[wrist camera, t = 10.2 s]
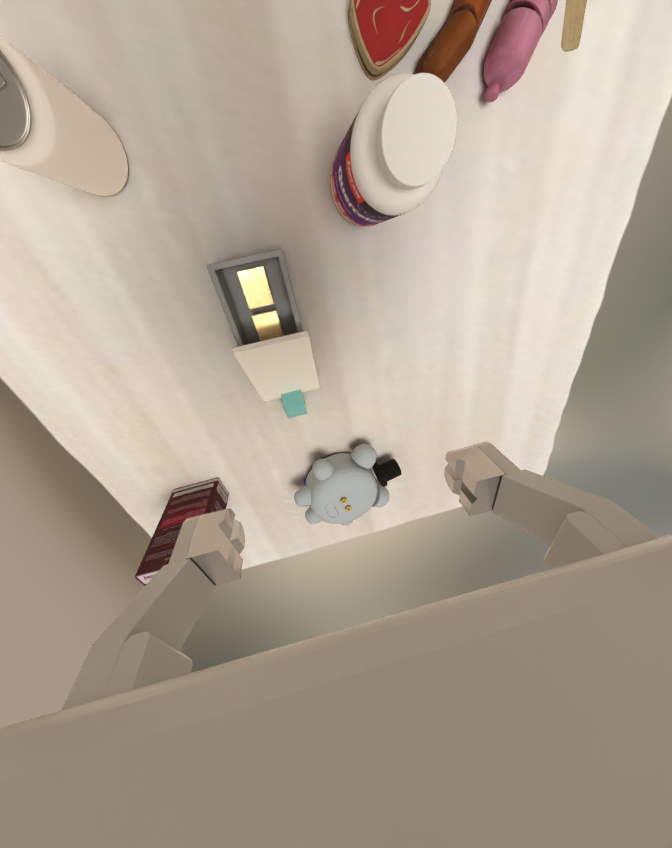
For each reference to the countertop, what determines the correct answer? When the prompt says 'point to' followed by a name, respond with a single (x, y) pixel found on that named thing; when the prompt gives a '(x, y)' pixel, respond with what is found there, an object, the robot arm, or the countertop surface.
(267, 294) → the brass block
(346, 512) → the figurine
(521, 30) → the toy food set
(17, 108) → the can
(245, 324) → the tub
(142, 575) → the supplement box
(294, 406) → the lid
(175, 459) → the countertop surface
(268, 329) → the brass block
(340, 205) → the pill bottle
